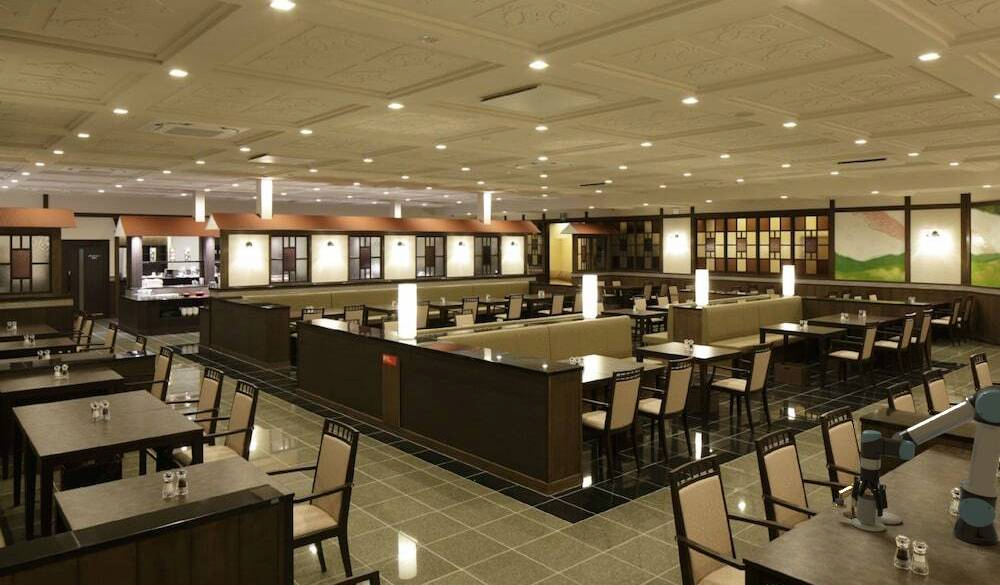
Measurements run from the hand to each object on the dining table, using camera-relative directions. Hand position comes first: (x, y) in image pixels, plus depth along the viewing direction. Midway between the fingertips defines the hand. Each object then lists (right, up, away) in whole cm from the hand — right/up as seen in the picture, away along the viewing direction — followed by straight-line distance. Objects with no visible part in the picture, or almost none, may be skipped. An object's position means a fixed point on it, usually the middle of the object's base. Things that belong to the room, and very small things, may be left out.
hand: (868, 519), depth 291 cm
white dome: (+12, -3, +8) cm, 15 cm away
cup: (0, -1, 0) cm, 1 cm away
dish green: (0, -3, 0) cm, 3 cm away
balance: (-1, -3, +12) cm, 12 cm away
